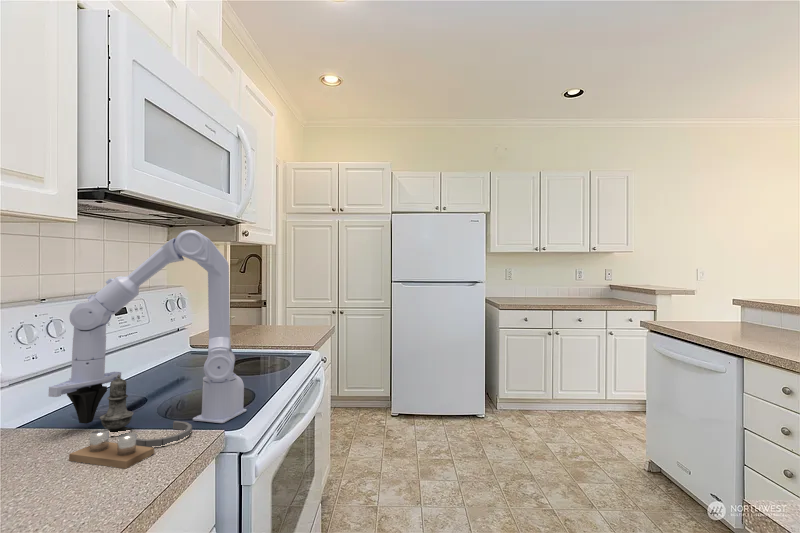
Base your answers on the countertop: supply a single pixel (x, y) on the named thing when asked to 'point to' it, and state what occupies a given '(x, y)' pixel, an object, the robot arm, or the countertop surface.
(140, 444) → the segmented grey arc
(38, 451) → the countertop surface
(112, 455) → the pin board
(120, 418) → the grey stone tall piece
